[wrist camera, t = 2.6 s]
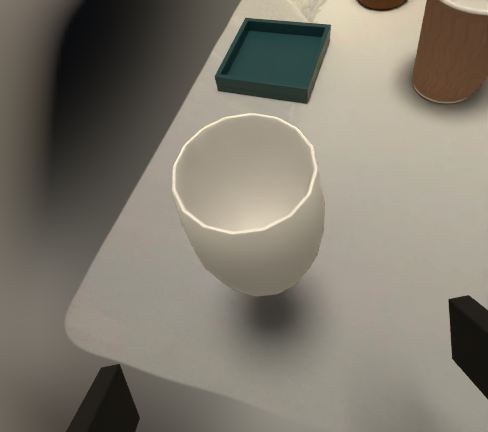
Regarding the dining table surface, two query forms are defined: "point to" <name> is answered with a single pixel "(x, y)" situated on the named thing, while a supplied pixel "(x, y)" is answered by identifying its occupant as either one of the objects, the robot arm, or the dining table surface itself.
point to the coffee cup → (452, 50)
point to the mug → (381, 3)
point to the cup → (251, 202)
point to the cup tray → (274, 59)
